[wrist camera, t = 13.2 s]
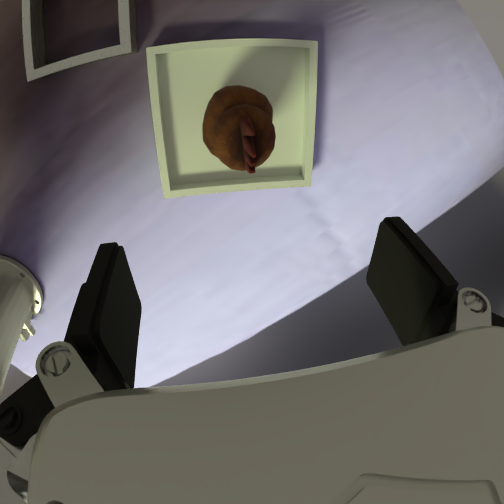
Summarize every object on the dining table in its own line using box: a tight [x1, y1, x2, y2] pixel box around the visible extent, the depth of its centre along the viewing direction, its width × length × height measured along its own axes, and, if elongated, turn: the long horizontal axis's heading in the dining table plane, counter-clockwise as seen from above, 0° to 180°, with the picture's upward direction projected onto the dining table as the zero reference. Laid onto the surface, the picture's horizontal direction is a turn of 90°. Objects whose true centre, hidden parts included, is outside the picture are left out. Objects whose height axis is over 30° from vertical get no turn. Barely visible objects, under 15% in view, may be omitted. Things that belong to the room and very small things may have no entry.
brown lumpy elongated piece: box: [202, 85, 276, 174], centre depth 23 cm, size 7×6×15 cm
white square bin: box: [22, 0, 138, 82], centre depth 20 cm, size 10×11×3 cm
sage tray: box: [146, 38, 318, 199], centre depth 29 cm, size 16×16×2 cm
